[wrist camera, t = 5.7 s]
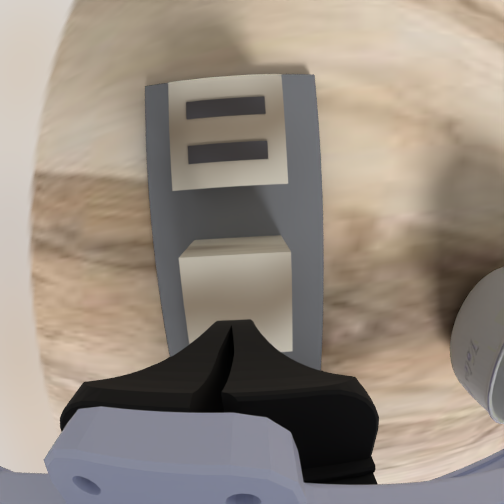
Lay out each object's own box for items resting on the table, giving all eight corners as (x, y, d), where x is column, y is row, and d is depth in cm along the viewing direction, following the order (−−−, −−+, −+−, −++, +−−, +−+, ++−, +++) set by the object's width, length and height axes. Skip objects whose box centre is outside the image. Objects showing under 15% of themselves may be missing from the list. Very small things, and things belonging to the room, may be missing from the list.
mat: (315, 417, 23) (316, 424, 22) (187, 423, 23) (185, 430, 22) (311, 78, 18) (314, 74, 17) (148, 89, 18) (145, 86, 17)
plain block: (283, 315, 20) (292, 351, 15) (202, 319, 20) (191, 355, 15) (280, 235, 19) (291, 251, 14) (194, 240, 19) (178, 257, 14)
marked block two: (278, 183, 18) (288, 183, 14) (190, 188, 18) (172, 190, 14) (273, 98, 17) (281, 73, 13) (186, 104, 17) (167, 81, 13)
